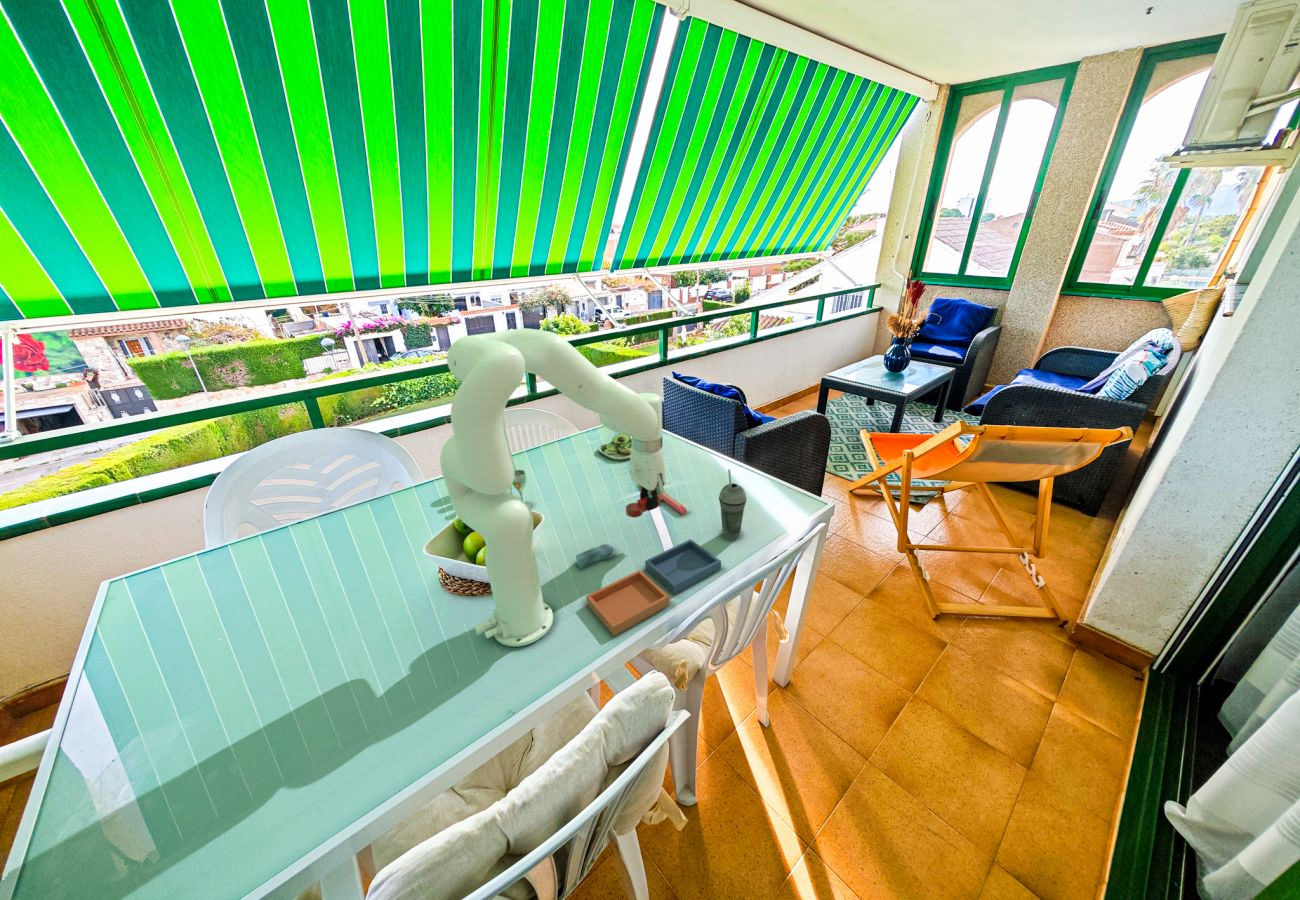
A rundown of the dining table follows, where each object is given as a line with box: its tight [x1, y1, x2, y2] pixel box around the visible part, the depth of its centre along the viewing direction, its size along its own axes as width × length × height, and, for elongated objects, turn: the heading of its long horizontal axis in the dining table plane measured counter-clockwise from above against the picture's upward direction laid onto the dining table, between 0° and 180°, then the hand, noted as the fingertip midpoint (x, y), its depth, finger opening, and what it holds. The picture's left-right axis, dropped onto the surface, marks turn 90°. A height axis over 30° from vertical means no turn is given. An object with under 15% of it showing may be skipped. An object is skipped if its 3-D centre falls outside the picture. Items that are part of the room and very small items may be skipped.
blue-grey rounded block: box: [575, 543, 615, 569], centre depth 118 cm, size 10×4×3 cm, turn 126°
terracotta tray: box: [585, 569, 670, 637], centre depth 102 cm, size 15×12×2 cm
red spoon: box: [625, 495, 662, 518], centre depth 120 cm, size 10×4×3 cm, turn 126°
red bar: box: [652, 489, 688, 516], centre depth 145 cm, size 24×2×5 cm
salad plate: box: [597, 433, 632, 461], centre depth 177 cm, size 19×18×5 cm
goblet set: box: [509, 463, 531, 509], centre depth 148 cm, size 28×6×13 cm, turn 49°
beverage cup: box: [718, 468, 748, 541], centre depth 121 cm, size 7×7×20 cm
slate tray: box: [644, 539, 722, 595], centre depth 113 cm, size 15×12×2 cm
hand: (649, 506), depth 122 cm, fingers closed on red spoon, 2 cm apart
